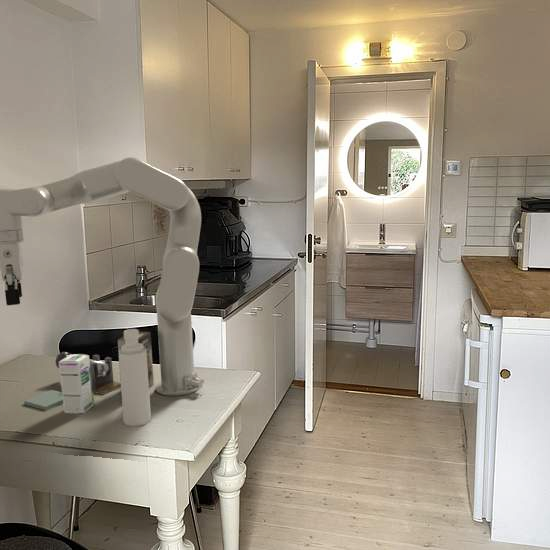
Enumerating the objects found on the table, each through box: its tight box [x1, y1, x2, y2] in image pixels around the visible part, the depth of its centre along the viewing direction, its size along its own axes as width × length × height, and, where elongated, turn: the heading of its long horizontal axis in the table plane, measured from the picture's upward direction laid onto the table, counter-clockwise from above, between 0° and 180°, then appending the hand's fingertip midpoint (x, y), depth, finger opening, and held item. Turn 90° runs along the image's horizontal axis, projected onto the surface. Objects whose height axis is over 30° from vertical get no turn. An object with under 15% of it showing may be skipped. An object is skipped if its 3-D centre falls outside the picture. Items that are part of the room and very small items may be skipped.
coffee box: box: [117, 331, 155, 395], centre depth 163 cm, size 9×6×16 cm
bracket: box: [90, 354, 121, 395], centre depth 166 cm, size 12×7×8 cm, turn 60°
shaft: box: [55, 351, 109, 375], centre depth 169 cm, size 18×5×5 cm, turn 60°
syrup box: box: [58, 353, 95, 415], centre depth 150 cm, size 6×6×14 cm
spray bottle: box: [117, 328, 152, 427], centre depth 141 cm, size 7×7×25 cm
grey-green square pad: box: [23, 389, 63, 411], centre depth 157 cm, size 9×9×1 cm
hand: (14, 300), depth 151 cm, fingers open, 9 cm apart
